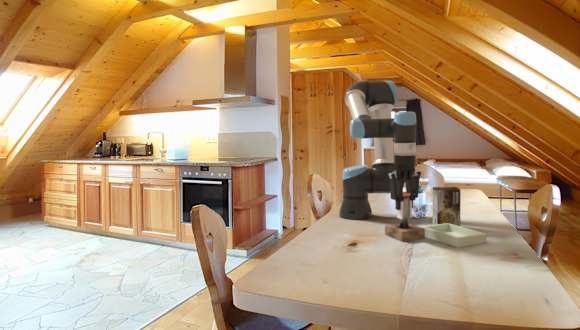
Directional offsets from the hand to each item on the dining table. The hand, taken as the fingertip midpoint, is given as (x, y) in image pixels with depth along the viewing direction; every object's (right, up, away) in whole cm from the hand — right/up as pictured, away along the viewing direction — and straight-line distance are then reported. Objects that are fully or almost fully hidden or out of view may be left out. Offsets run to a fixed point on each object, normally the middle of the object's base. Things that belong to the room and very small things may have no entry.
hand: (404, 217), depth 134 cm
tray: (+16, -7, -4) cm, 18 cm away
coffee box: (+20, -6, +11) cm, 24 cm away
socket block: (0, -7, 0) cm, 7 cm away
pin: (0, -5, 0) cm, 5 cm away
